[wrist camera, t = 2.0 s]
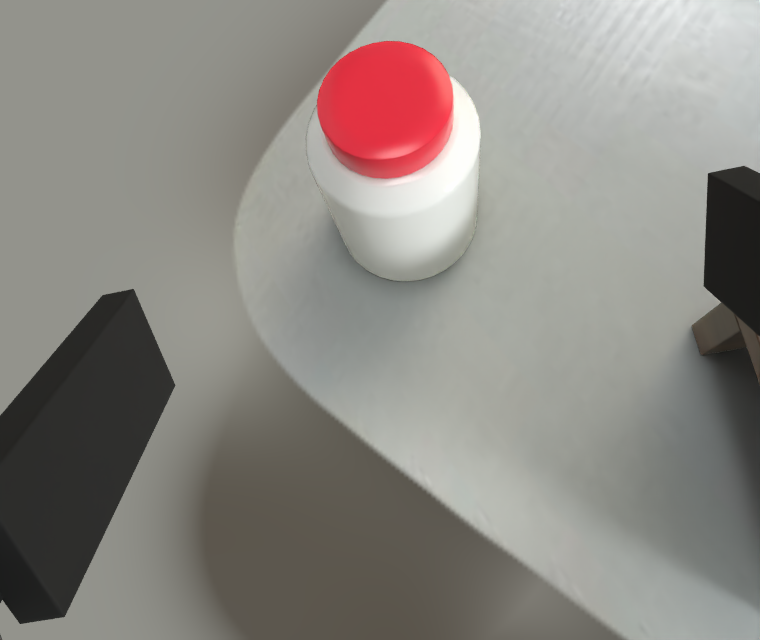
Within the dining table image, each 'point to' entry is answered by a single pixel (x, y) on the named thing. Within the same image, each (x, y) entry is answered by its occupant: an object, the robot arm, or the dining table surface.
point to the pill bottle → (397, 159)
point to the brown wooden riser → (726, 335)
